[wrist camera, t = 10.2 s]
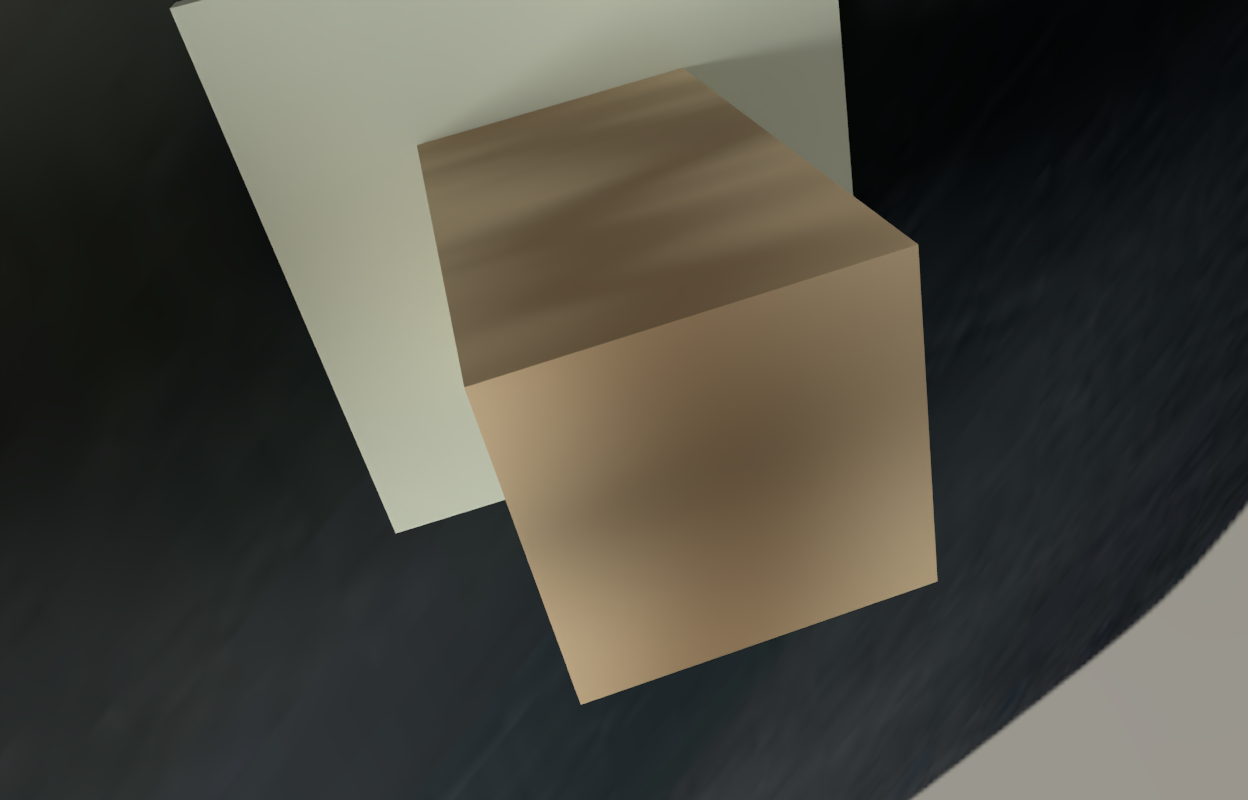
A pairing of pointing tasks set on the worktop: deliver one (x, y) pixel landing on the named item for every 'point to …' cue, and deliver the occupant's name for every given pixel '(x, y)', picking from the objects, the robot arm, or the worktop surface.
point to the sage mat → (436, 108)
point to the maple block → (684, 374)
